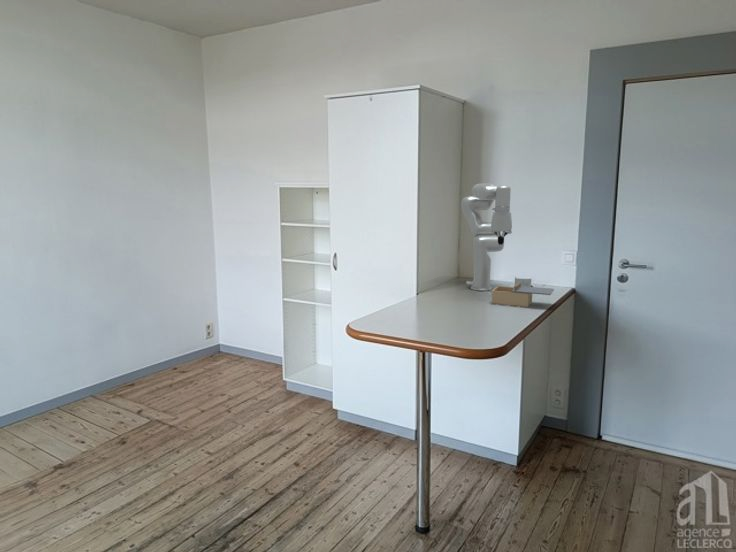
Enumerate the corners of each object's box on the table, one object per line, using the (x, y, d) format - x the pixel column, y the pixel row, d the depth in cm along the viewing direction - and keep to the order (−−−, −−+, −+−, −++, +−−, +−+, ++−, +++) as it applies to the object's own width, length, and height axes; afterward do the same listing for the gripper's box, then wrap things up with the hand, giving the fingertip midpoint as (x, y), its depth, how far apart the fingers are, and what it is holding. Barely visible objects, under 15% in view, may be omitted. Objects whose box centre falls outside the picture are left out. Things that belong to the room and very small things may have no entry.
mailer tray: (491, 304, 259) (491, 290, 258) (497, 298, 271) (497, 286, 270) (527, 307, 251) (528, 293, 250) (531, 302, 264) (532, 288, 262)
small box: (528, 295, 281) (529, 276, 279) (530, 297, 275) (531, 278, 273) (513, 295, 281) (514, 276, 280) (515, 297, 276) (516, 278, 274)
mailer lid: (511, 291, 253) (511, 286, 253) (516, 286, 266) (516, 281, 266) (550, 295, 245) (550, 289, 245) (553, 289, 258) (554, 284, 258)
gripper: (486, 209, 266) (485, 244, 269) (515, 210, 260) (513, 245, 263) (489, 209, 273) (488, 243, 276) (518, 209, 266) (516, 244, 269)
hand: (500, 244), depth 269 cm, fingers closed
